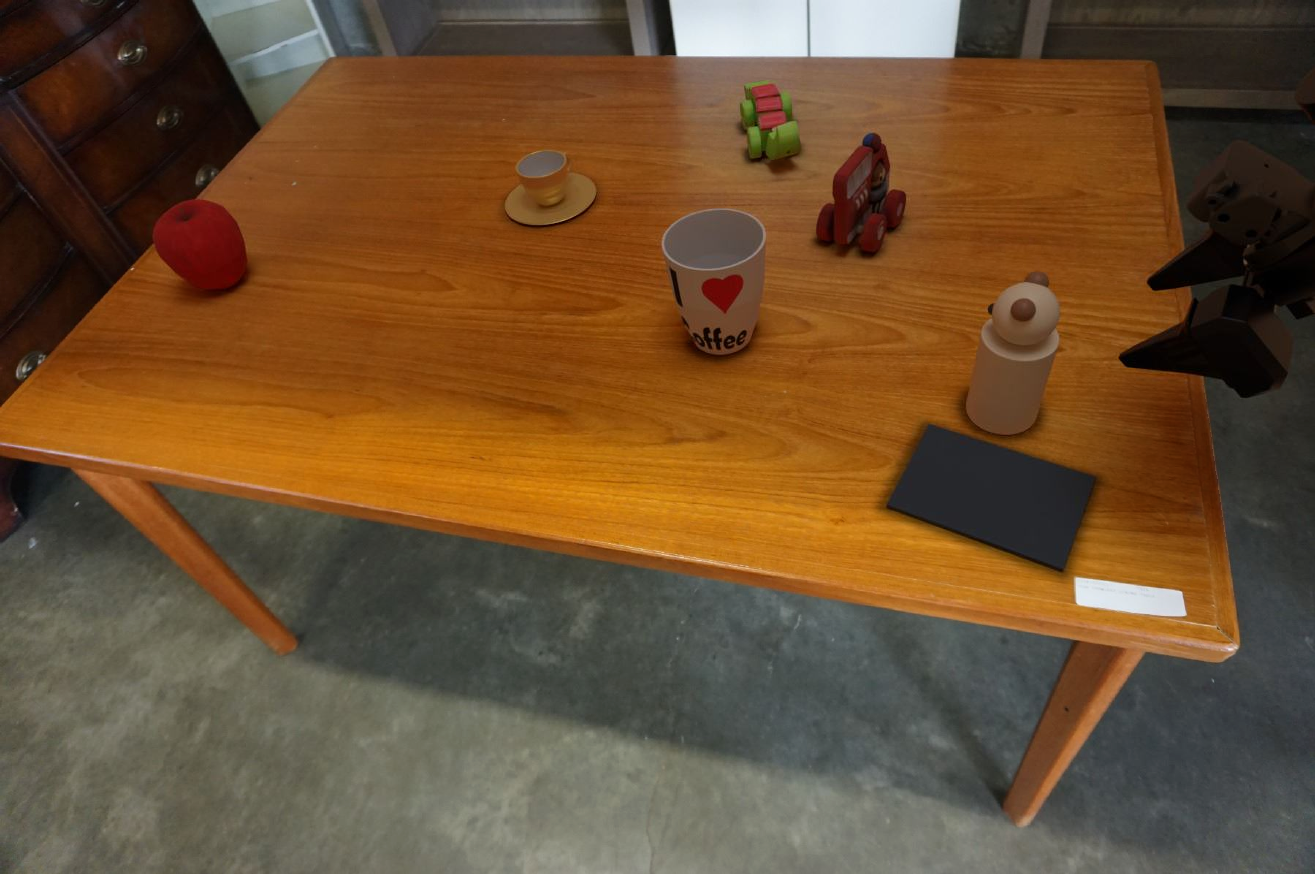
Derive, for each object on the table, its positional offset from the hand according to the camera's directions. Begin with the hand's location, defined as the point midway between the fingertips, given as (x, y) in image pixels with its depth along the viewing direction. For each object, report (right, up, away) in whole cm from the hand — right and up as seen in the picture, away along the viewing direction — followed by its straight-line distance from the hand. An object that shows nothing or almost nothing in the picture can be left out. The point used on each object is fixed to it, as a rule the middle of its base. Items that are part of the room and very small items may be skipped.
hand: (1136, 321), depth 62 cm
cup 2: (-29, +2, +25) cm, 38 cm away
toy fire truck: (-12, +15, +33) cm, 39 cm away
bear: (-5, -6, +13) cm, 15 cm away
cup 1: (-49, +22, +46) cm, 71 cm away
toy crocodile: (-21, +31, +49) cm, 62 cm away
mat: (-8, -13, +7) cm, 17 cm away
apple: (-90, +11, +44) cm, 101 cm away
